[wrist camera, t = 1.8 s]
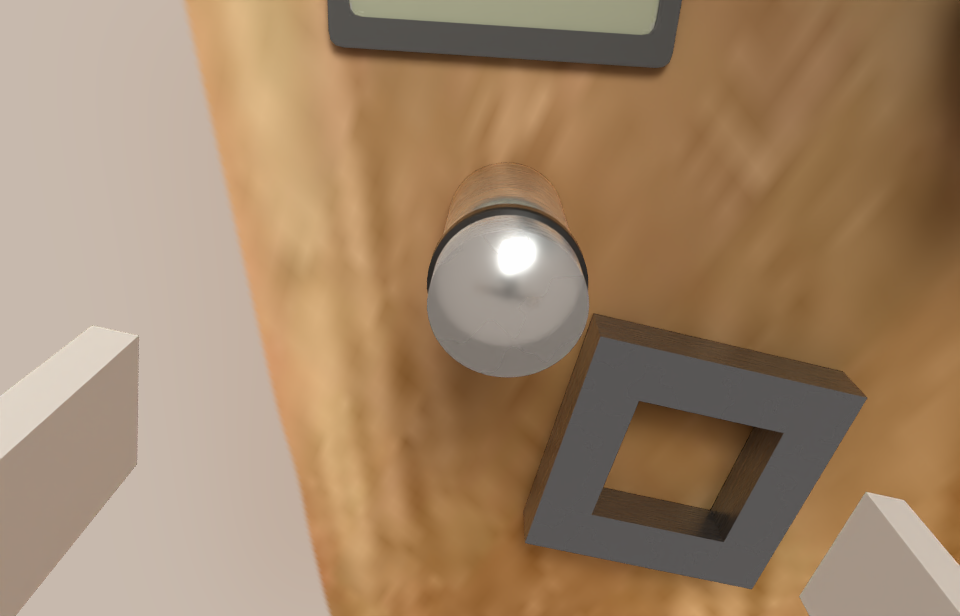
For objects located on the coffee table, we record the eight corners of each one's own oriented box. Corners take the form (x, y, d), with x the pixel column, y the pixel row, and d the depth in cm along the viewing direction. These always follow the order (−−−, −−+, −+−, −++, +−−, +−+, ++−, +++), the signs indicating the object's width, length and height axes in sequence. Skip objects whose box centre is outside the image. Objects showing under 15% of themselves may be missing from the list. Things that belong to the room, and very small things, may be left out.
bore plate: (593, 313, 26) (600, 336, 24) (842, 371, 27) (867, 397, 25) (523, 511, 31) (524, 542, 29) (737, 555, 32) (751, 589, 30)
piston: (459, 144, 23) (441, 206, 16) (582, 175, 24) (618, 248, 16) (434, 260, 25) (407, 361, 18) (547, 287, 26) (565, 397, 18)
